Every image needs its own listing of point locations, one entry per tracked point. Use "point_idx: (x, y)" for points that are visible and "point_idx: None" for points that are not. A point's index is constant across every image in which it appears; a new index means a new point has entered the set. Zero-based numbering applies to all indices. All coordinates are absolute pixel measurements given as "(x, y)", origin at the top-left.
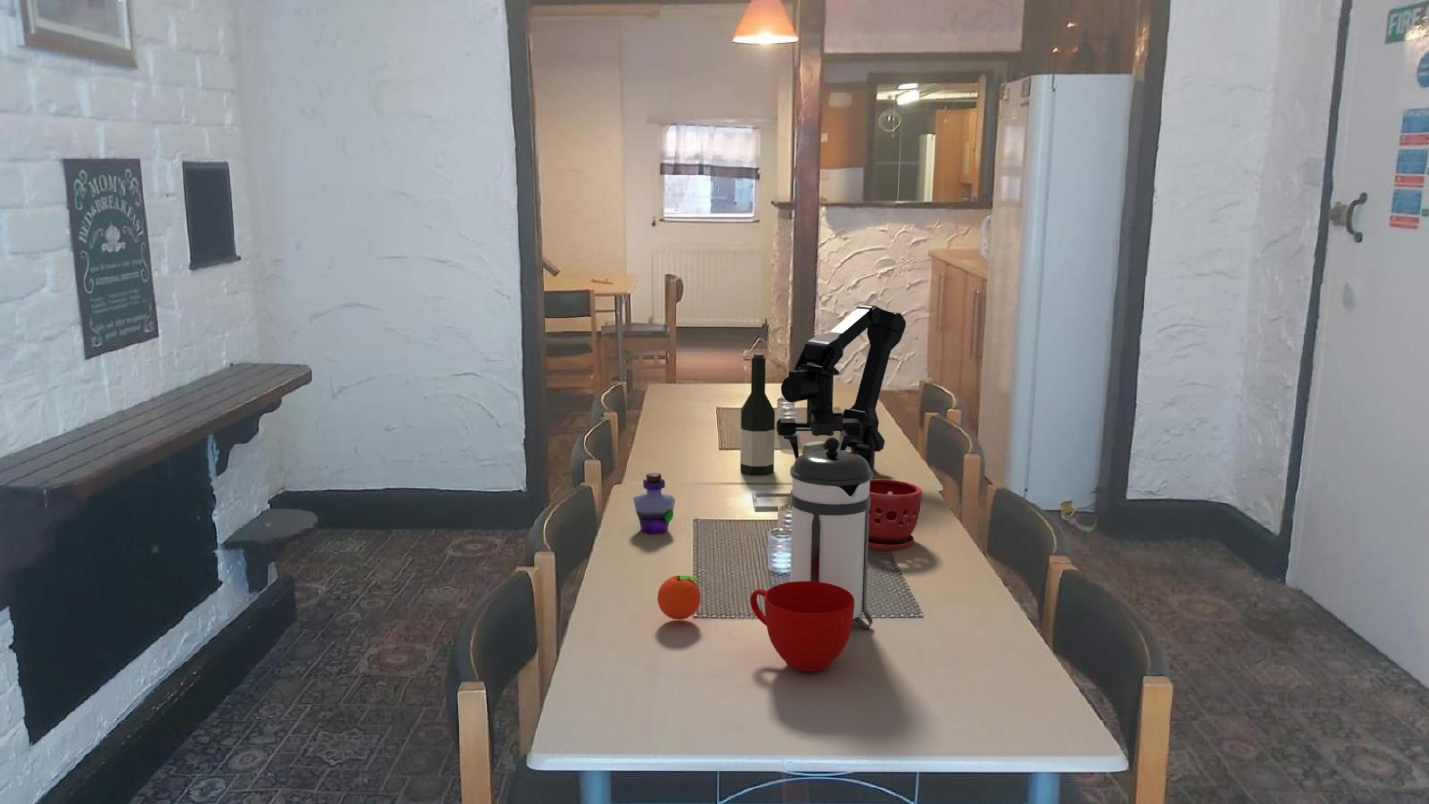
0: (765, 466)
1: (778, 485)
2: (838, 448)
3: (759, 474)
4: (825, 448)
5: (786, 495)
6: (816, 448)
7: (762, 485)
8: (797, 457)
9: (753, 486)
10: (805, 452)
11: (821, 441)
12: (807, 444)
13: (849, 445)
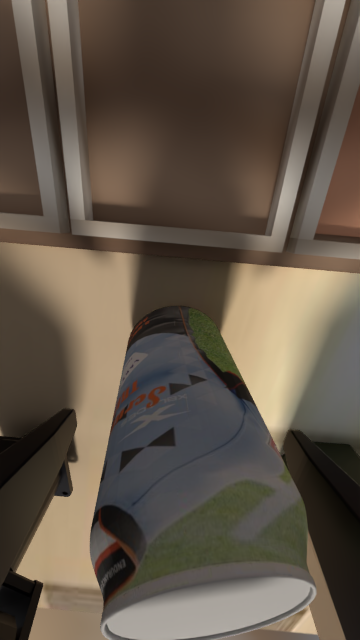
0: None
1: (279, 425)
2: (22, 534)
3: (343, 469)
4: (120, 518)
5: (353, 243)
6: (220, 519)
7: (325, 429)
8: (325, 466)
9: (355, 423)
10: (298, 493)
11: (136, 635)
12: (279, 602)
13: (11, 584)
